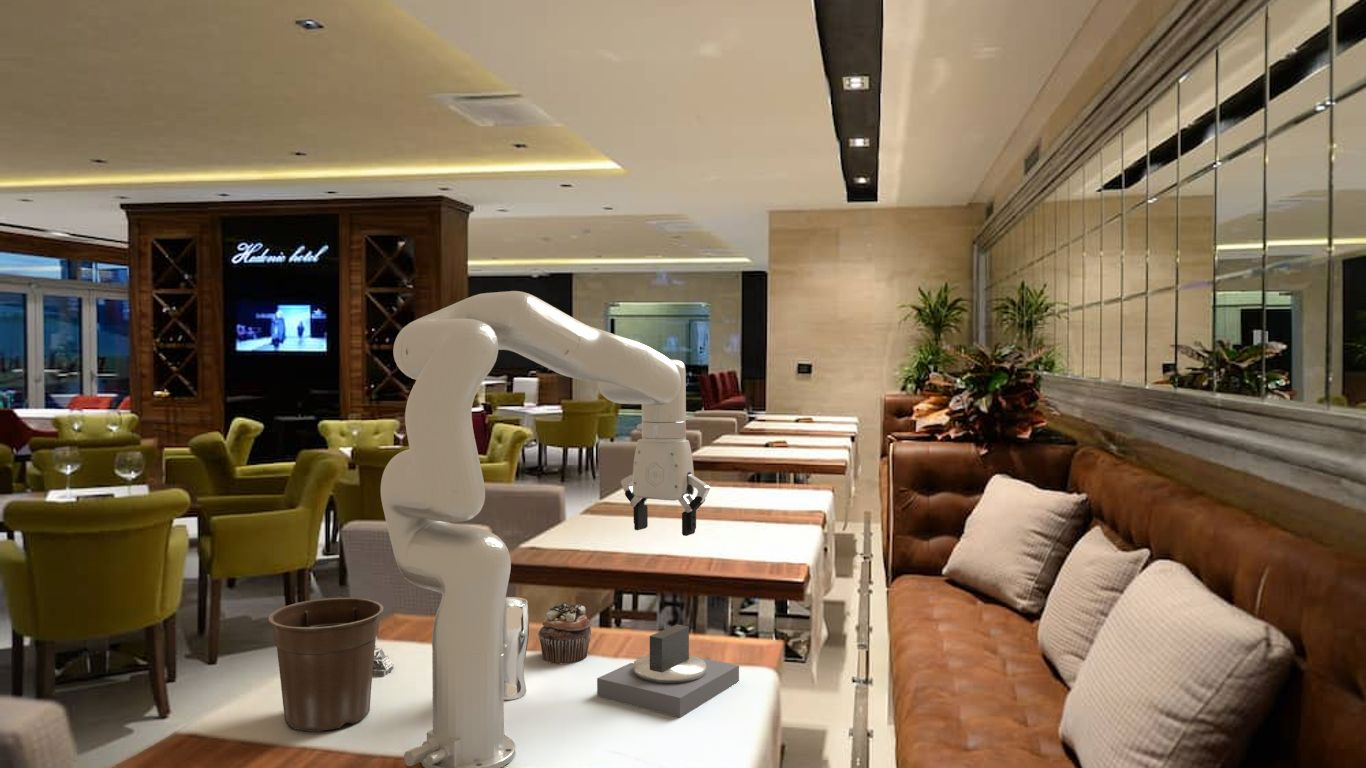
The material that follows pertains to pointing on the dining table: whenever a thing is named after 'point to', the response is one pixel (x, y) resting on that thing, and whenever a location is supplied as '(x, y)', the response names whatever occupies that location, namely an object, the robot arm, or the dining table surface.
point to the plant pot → (326, 660)
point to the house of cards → (381, 663)
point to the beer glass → (515, 646)
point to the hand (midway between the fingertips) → (664, 531)
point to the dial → (670, 658)
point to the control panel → (667, 688)
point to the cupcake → (565, 634)
